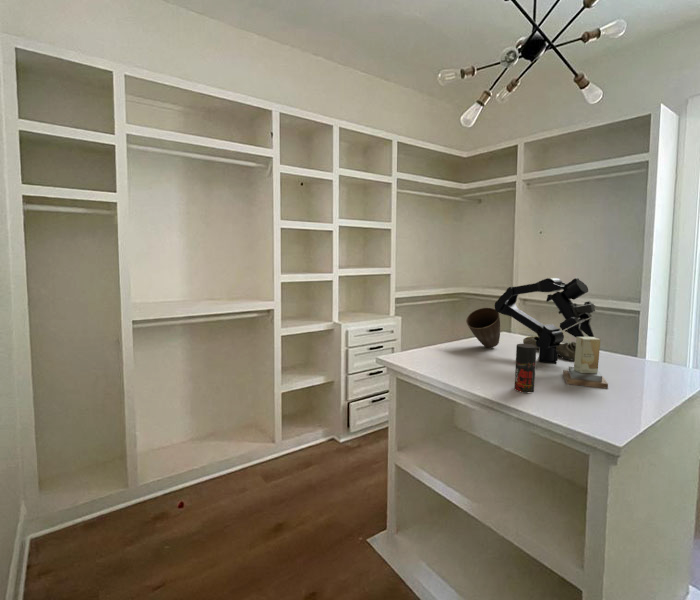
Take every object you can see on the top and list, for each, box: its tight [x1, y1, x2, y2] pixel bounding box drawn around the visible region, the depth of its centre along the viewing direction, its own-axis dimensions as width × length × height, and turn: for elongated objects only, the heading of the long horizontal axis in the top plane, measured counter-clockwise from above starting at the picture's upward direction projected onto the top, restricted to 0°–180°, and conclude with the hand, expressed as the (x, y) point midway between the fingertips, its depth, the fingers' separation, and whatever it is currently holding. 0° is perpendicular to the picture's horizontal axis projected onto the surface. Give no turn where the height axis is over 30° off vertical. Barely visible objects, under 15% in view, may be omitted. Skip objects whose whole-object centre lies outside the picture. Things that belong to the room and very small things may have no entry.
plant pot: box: [465, 307, 501, 349], centre depth 187 cm, size 15×15×16 cm
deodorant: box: [514, 343, 537, 393], centre depth 130 cm, size 6×6×15 cm
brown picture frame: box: [562, 366, 609, 389], centre depth 140 cm, size 12×12×4 cm
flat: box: [522, 335, 576, 361], centre depth 181 cm, size 11×33×8 cm, turn 14°
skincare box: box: [573, 336, 601, 373], centre depth 138 cm, size 6×4×12 cm
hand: (589, 339), depth 153 cm, fingers open, 9 cm apart
